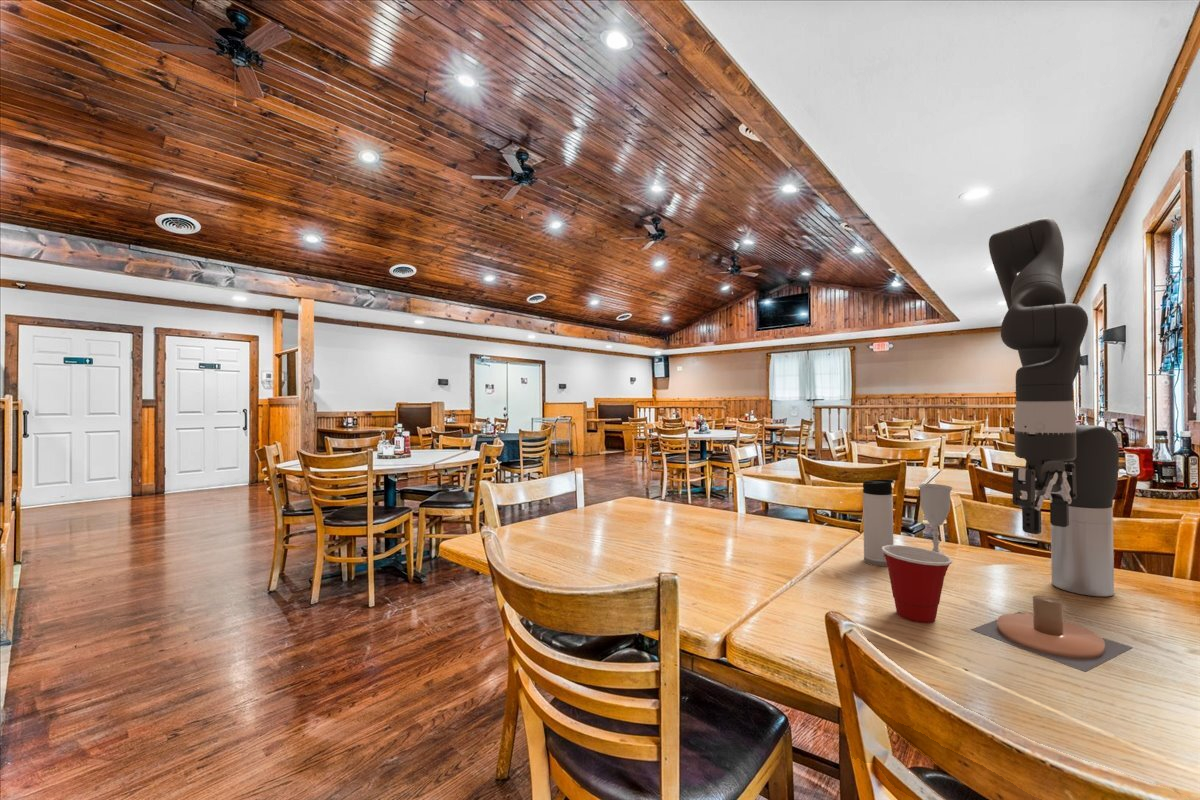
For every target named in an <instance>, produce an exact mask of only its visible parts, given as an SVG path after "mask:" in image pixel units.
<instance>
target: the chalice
mask: <svg viewBox="0 0 1200 800" xmlns="http://www.w3.org/2000/svg"><path fill="white" fill-rule="evenodd" d="M917 487H918V488H919V493H920V494H919V495H920V507H921V510H922V512H923V514H924V517H925V518H926V520H927V523H928V524H929V525H932V527H933V529H932V532H931V534H932V536H933V539H932V540H931V542H932V544H933V548H932V549H931V551H935V552H938V553H941V554H944V555H946V554H945V553H944V552H943V551H941V550H940V549H939V544H940V543H941V541H940V540H939V536H940V533H939V526H942V525H943V524H944V522H945V520H946V519H947V517H948V515H949V512H950V510H951V491H952V490H953V487H952V486H950V485H945V484H939V483H919V484H917Z"/></svg>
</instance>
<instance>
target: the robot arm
mask: <svg viewBox="0 0 1200 800" xmlns="http://www.w3.org/2000/svg"><path fill="white" fill-rule="evenodd" d="M1061 232H1062V231H1061V229H1060V227H1059V225H1058V223H1057V222H1056V221H1055V220H1054V219H1053V218H1050V217H1042V218H1036V219H1033V220H1030V221H1027V222H1025V223H1021V224H1018V225H1016V226H1015V225H1014V226H1011V227H1010V228H1007V229H1004V230H1000V231H998V232H996V233H992V235H991V236H990V237H989V239H988V249H989V250H988V251H989V255H990V258H991V262H992V264H993V268H994V270H995V274H996V277H997V280H998V283H999V285H1000V288H1001V292H1002V294H1003V297H1004V300H1005V303H1006V307H1007V309H1008V310H1007V312H1006V313H1005V315H1004V317H1003V319H1002V322H1001V326H1000V338H1001V341H1002V343H1003V344H1004V345H1005V346H1006V347H1008V348H1010V349H1011V350H1014V351H1017V353H1018V356H1019V360H1020V363H1021V367H1019V368H1018V369H1017V370H1016V372H1015V407H1014V408H1015V409H1014V415H1013V419H1014V420H1013V421H1014V424H1013V425H1014V428H1013V429H1014V431H1013V433H1014V455H1015V456H1016V458H1019V459H1024V460H1025V467H1014V468H1013V469H1012V500H1011V502H1012V505H1013V506H1018V507H1019V509H1021V511H1022V512H1021V515H1022V516H1021V517H1022V518H1021V519H1022V522H1021V523H1022V527H1021V528H1022V531H1023V532H1024V533H1027V534H1032V535H1039V534H1041V533H1042V511H1041V509H1042V506H1043V503H1044V501H1045V500H1048V499H1049V501H1050V502H1049V521H1050V555H1051V556H1050V558H1051V564H1050V565H1051V568H1050V569H1051V584H1052V585H1053V586H1054V587H1056V588H1058V589H1061V590H1063V591H1067V592H1070V593H1073V594H1077V595H1083V596H1084V595H1085V596H1092V597H1112V596H1114V595H1115V569H1114V568H1115V563H1114V562H1115V559H1114V558H1115V557H1114V521H1113V520H1114V518H1113V517H1114V514H1113V510H1114V508H1113V507H1114V506H1113V501H1114V498H1115V495H1116V493H1117V490H1118V478H1119V477H1118V476H1119V462H1120V461H1119V459H1120V451H1119V442H1118V439H1117V437H1116V436H1115V434H1114V432H1113V431H1111V430H1110V429H1109V428H1107V427H1104V426H1102V425H1094V424H1092V425H1090V424H1077V417H1076V410H1075V406H1074V404H1075V403H1074V381H1075V379H1076V376H1077V375H1078V372H1079V369H1080V367H1081V362H1082V355H1081V350H1080V348H1081V346H1082V343H1083V340H1084V338H1085V336H1086V333H1087V330H1088V327H1089V326H1088V325H1089V317H1088V314H1087V312H1086V311H1085V309H1084V308H1083V307H1082V306H1081V305H1079V304H1077V303H1071V302H1070V303H1069V302H1068V303H1067V297H1066V293H1065V289H1064V284H1063V281H1062V274H1063V268H1064V267H1063V266H1064V257H1065V255H1064V254H1065V247H1064V239H1063V236H1062V233H1061Z"/></svg>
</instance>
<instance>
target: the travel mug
mask: <svg viewBox="0 0 1200 800" xmlns="http://www.w3.org/2000/svg"><path fill="white" fill-rule="evenodd" d="M892 484H895V480H894V479H893V478H890V479H870V480H869V479H868V480H865V481H864V482H863V483H862V514H863V515H862V516H863V517H862V520H863V521H862V522H863V526H862V527H863V529H862V530H863V561H864V562H865V563H867V564H868V563H869V565H871V564H872V566H875V565H877V566H876V567H887V561H886V558H885V554H884V552H883V551H882V547H883V546H886V545H894V513H893V512H894V508H893V506H894V501H893V499H894V498H893V486H892Z"/></svg>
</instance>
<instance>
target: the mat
mask: <svg viewBox="0 0 1200 800" xmlns="http://www.w3.org/2000/svg"><path fill="white" fill-rule="evenodd" d="M1013 614H1026V613H1025V612H1021V611H1017V612H1015V613H1013ZM970 631H973V632H975V633H978V634H980V635H984V636H987V637H989V638H992V639H994V640H997V641H1000V642H1003V643H1006V644H1009V645H1011V646H1014V647H1016V648H1019V649H1022V650H1024V651H1027V652H1030V653H1033V654H1036V655H1038V656H1041V657H1044V658H1045V659H1049V660H1052V661H1054V662H1057V663H1060V664H1063V665H1065V666H1067V667H1071V668H1073V669H1076V670H1079V671H1082V672H1084V673H1087V672H1089V671H1091V670H1093V669H1094V668H1096V667H1098V666H1100V665H1102V664H1104V663H1106V662H1108V661H1111V660H1112V659H1114V658H1116V657H1118V656H1121V655H1122V654H1124V653H1126V652H1127V651H1129V650H1132V649H1133V648H1134V647H1133V646H1129V645H1126V644H1123V643H1120V642H1117V641H1113V640H1111V639H1107V638H1104V637H1102V636H1100V637H1101V638H1102V639H1103V640H1104V642H1105V653H1104V654H1103V655H1102V656H1100V657H1096V658H1070V657H1063V656H1057V655H1053V654H1048V653H1044V652H1040V651H1037V650H1034V649H1031V648H1028V647H1025V646H1022V645H1020V644H1018V643H1015V642H1013V641H1011V640H1010V639H1008V638H1006V637H1005V636H1003V635H1002V634H1001V633H1000V632H999V631H998V629H997V619H995V620H993V621H990V622H988V623H984V624H981V625H979V626H976V627H973V628H971V629H970Z"/></svg>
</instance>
